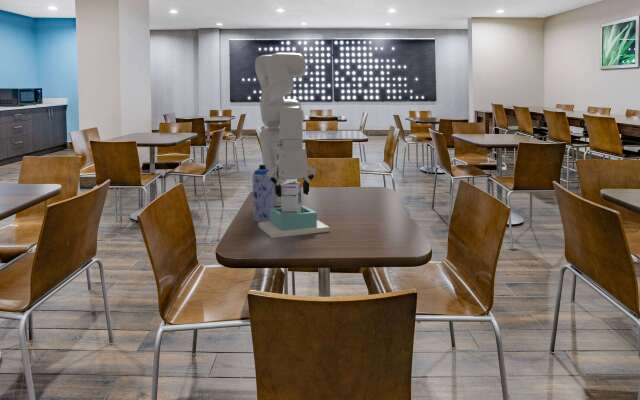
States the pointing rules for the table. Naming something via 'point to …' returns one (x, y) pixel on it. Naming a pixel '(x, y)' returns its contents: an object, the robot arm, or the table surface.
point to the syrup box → (291, 197)
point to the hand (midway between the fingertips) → (292, 195)
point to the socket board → (292, 223)
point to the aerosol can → (262, 194)
